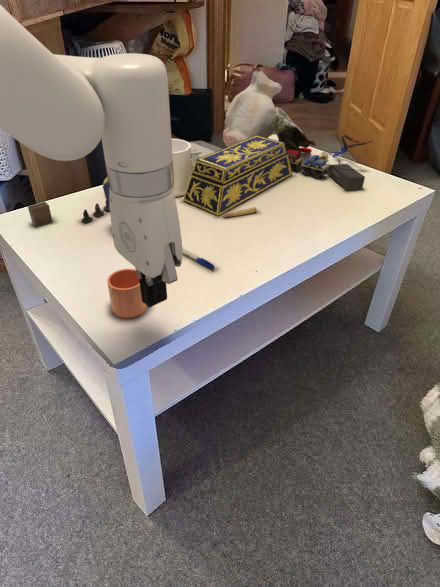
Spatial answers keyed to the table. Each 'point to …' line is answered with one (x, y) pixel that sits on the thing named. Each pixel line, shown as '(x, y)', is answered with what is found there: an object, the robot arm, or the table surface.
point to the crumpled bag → (251, 111)
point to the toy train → (308, 163)
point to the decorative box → (237, 173)
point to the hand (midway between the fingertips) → (154, 300)
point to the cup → (125, 293)
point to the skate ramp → (201, 150)
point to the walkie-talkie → (346, 176)
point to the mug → (181, 165)
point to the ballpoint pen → (199, 259)
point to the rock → (289, 131)
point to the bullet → (241, 212)
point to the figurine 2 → (343, 150)
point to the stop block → (40, 214)
